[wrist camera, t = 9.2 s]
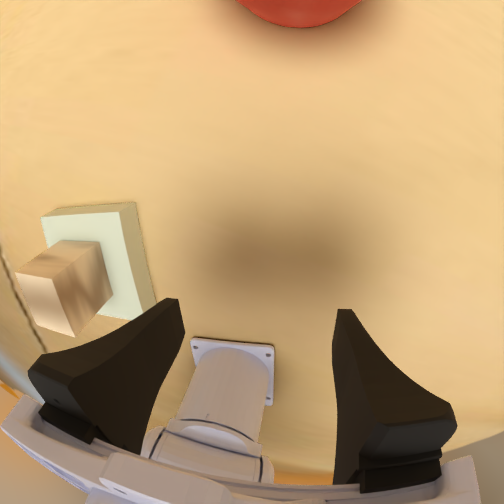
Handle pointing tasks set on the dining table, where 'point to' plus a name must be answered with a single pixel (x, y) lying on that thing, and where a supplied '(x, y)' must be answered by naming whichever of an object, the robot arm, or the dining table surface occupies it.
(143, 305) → the base block
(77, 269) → the maple block
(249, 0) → the flower pot
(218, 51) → the dining table surface
